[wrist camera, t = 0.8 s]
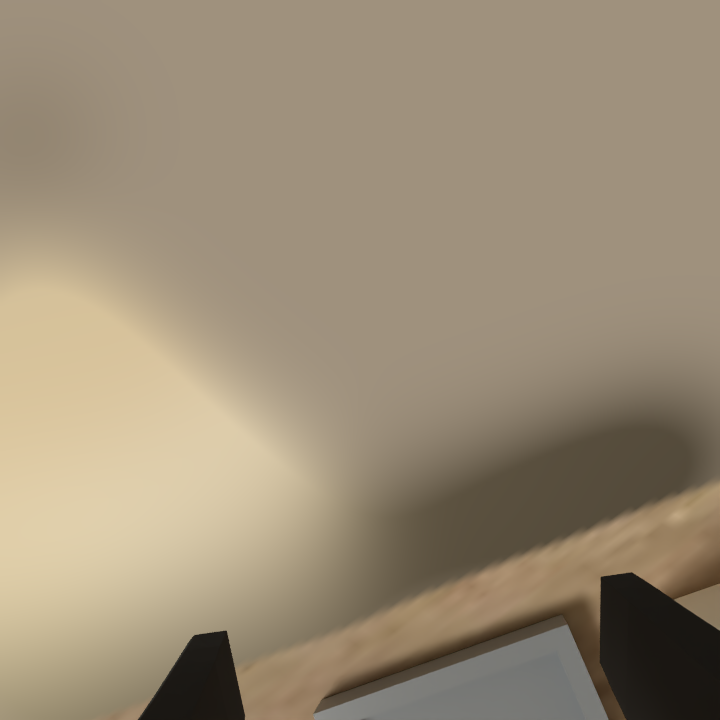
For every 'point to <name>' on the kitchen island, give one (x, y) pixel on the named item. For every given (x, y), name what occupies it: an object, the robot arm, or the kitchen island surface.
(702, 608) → the cream block
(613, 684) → the robot arm
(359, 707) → the tray
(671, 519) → the kitchen island surface
